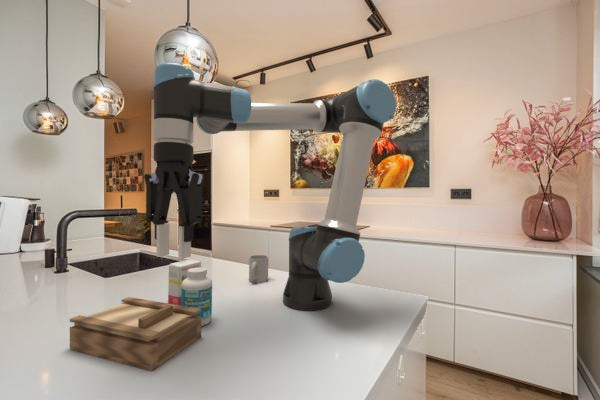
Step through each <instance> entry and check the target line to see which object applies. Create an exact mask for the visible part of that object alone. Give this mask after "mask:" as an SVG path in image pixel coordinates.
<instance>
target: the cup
mask: <svg viewBox="0 0 600 400" xmlns="http://www.w3.org/2000/svg"><path fill="white" fill-rule="evenodd" d="M248 257H249V259H248V281H249V282H250V283H253V284H262V282H263V283H266V282H268V280H269V256H268V255H264V254H256V255H251V256H248Z"/></svg>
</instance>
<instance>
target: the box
mask: <svg viewBox="0 0 600 400" xmlns="http://www.w3.org/2000/svg"><path fill="white" fill-rule="evenodd" d="M121 303H130V304H136V305H141V306H147V307H153V308H159V309H161V308H163V307H165V306H167V305H172V306H173V311H176V312H181V313H187V314H193V315H192V317H190V318H189V319H187V320H185V321H183V322H182V323H180V324H178V325H176V326H175V327H173V328H171V329H170V330H168V331H166V332H164V333H163V334H161V332H158V331H153V330H149V329H144V328H139V327H134V326H129V325H125V324H120V323H115V322H110V321H105V320H100V319H96V318H91V317H87V316H86V315H80V314H79V315H76V316H73V317H71V318H69V323H73V324H74V323H78V324H82V325H87V326H91V327H96V328H100V329H105V330H109V331H114V332H118V333H123V334H127V335H132V336H136V337H141V338H145V339H150V340H151V341H150V342H147V341H142V340H138V339H133V338H129V337H125V336H120V335H116V334H111V333H107V332H102V331H98V330H94V329H89V328H85V327H80V326H76V325H73V326H70V327H69V350H70V351H71V350H72V351H74V352H77V353H78V352H79V353H82V354H87V355H91V356H94V357H96V358H97V357H98V358H101V359H104V360H105V359H106V360H109V361H112V362H116V363H120V364H124V365H127V366H131V367H135V368H138V369H142V370H146V371H150V372H153V371H155V370H157V368H158V367H160V366H162V365H163V364H164V363H166V362H168V361H169V360H170V359H171V358H173V357H175V355H177V354H179V353H180V352H182V351H183V350H184V349H186V348H187V347H189V346H190V345H191V344H193V343H194V342H196V341H197V340H199V339H200V338H201V337H202V326H201V317H200V316H194V315H196V314H198V313H200V312H201V309H198V308H192V307H186V306H180V305H174V304H168V302H163V301H162V302H161V301H155V300H149V299H142V298H138V297H131V296H128V297H124V298H122V299H121Z"/></svg>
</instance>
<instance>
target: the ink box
mask: <svg viewBox="0 0 600 400" xmlns="http://www.w3.org/2000/svg"><path fill="white" fill-rule="evenodd" d="M198 267H200V268H202V261H199V260H196V259H185V260H181V261H176V262H171V263H170V264H168V286H167V287H168V289H167V290H168V293H167V295H168V297H167V298H168V299H167V303H168V304H174V305H180V306H181V285H182V282H183V280H184V279H186V278H188V275H187V271H188V269H191V268H198Z"/></svg>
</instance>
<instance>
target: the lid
mask: <svg viewBox="0 0 600 400" xmlns="http://www.w3.org/2000/svg"><path fill="white" fill-rule="evenodd" d="M86 317H91V318H96V319H100V320H105V321H110V322H115V323H120V324H125V325H129V326H134V327H139V328H144V329H149V330H153V331H158V332H161V334H163V333H164V332H166V331H168V330H170V329H171V328H173V327H175V326H176V325H178V324H180V323H182V322H183V321H185V320H187V319H189V318H190V317H192V314H187V313H181V312H176V311H173V306H172V305H167V306H165V307H163V308H161V309H159V308H153V307H147V306H141V305H136V304H130V303H124V302H121V303H118V304H116V305H112V306H111V307H109V308H106V309H102V310H100V311H98V312H97V311H96V312H95V313H93V314H90V315H88V316H86ZM75 325H76V326H80V327H85V328H89V329H94V330H98V331H102V332H107V333H111V334H116V335H120V336H125V337H129V338H133V339H138V340H142V341H147V342H150V341H151V340H150V339H145V338H141V337H136V336H132V335H127V334H123V333H118V332H114V331H109V330H105V329H100V328H96V327H91V326H87V325H82V324H78V323H73V326H75Z"/></svg>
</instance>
